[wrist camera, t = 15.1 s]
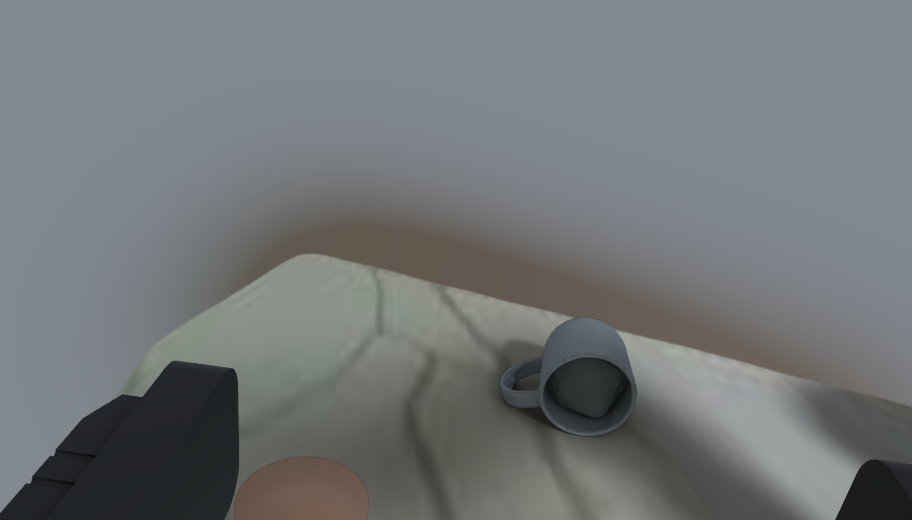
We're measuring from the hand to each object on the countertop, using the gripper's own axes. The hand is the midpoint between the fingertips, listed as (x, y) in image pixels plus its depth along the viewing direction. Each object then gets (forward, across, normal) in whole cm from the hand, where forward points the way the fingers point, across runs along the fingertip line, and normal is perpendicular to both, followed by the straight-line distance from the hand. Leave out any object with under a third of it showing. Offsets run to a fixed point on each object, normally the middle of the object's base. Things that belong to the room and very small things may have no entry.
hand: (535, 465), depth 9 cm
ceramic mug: (+43, -9, +30) cm, 54 cm away
